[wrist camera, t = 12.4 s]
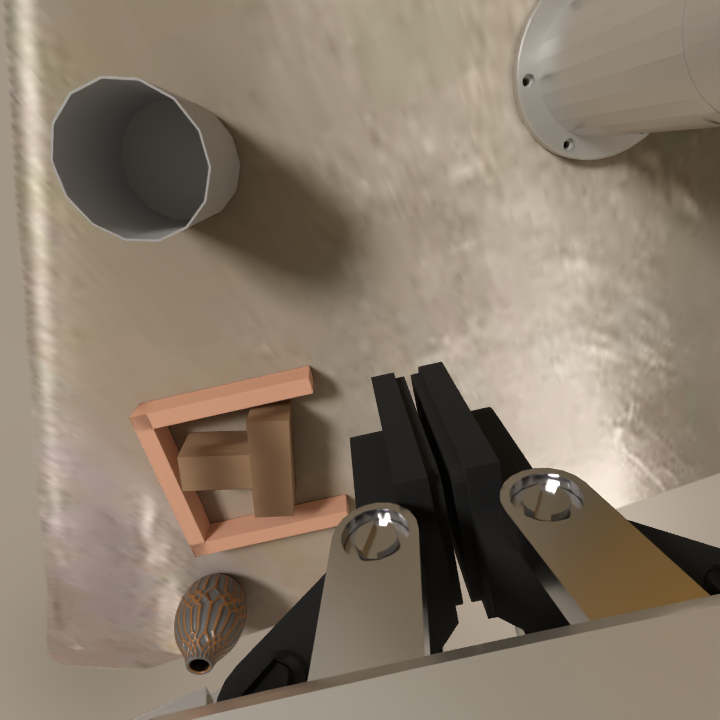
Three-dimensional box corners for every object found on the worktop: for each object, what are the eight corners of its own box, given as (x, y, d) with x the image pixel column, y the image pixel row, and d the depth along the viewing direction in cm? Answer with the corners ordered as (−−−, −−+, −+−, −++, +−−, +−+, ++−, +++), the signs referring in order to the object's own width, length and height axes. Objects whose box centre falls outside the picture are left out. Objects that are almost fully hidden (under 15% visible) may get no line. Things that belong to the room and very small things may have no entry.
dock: (309, 365, 42) (308, 377, 40) (348, 505, 48) (349, 523, 46) (139, 403, 42) (129, 417, 40) (201, 538, 49) (195, 556, 46)
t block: (291, 398, 43) (288, 420, 39) (296, 488, 47) (293, 515, 43) (184, 401, 42) (171, 424, 39) (198, 492, 46) (187, 520, 43)
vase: (172, 579, 50) (143, 659, 42) (228, 553, 50) (209, 630, 42) (209, 618, 53) (189, 700, 45) (263, 594, 52) (252, 674, 44)
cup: (252, 210, 37) (228, 227, 27) (148, 231, 37) (89, 255, 27) (219, 87, 33) (180, 59, 24) (105, 110, 33) (22, 91, 24)
